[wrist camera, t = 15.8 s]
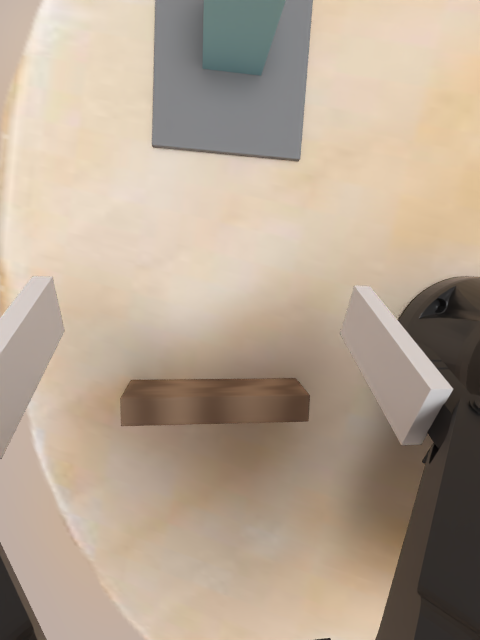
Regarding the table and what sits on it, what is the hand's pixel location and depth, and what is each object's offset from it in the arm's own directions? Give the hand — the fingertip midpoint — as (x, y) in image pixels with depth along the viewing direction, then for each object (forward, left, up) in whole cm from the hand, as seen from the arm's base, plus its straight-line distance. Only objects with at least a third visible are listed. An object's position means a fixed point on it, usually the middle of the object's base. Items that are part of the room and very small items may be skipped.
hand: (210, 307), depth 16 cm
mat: (-1, -21, -18) cm, 27 cm away
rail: (-1, +10, -18) cm, 21 cm away
